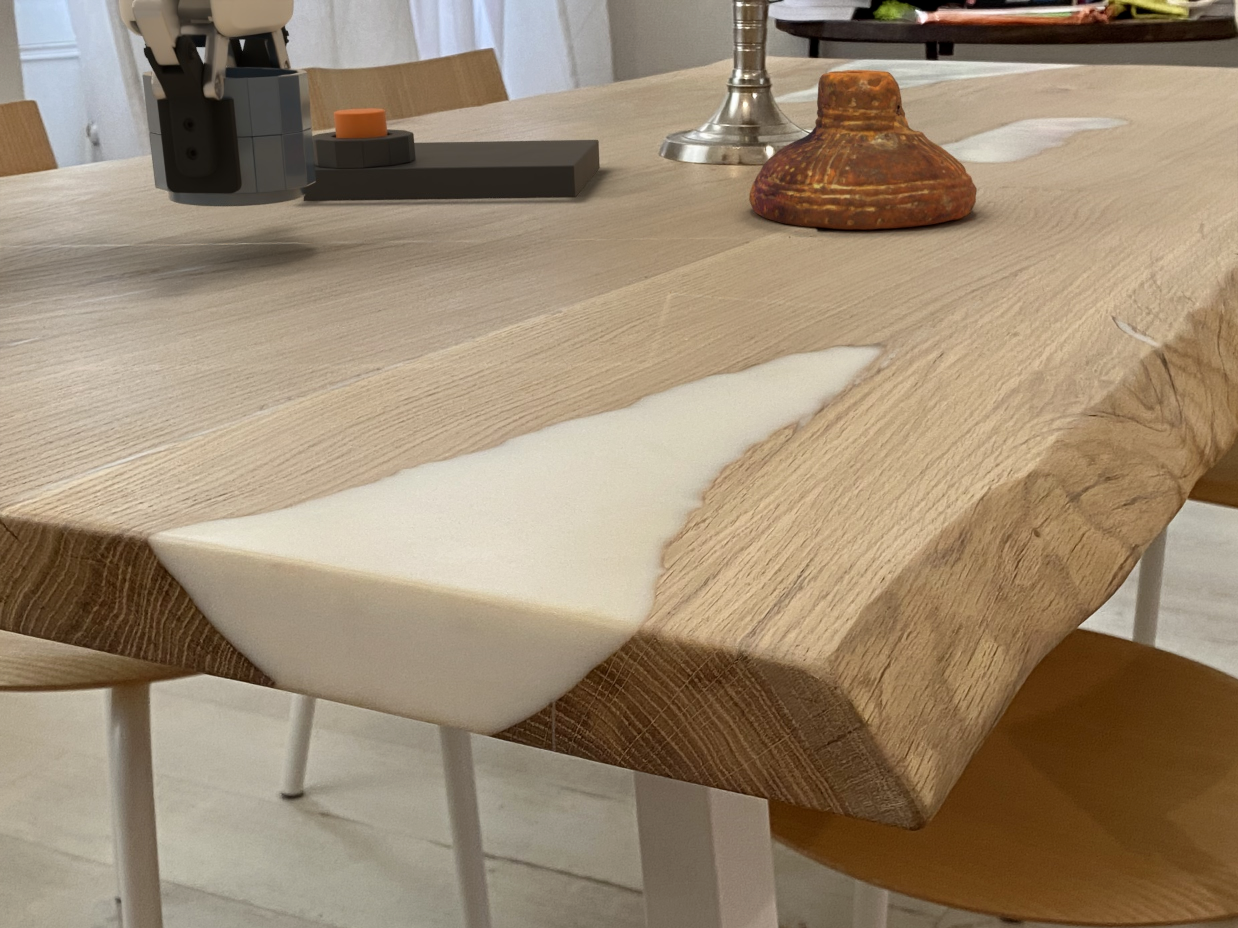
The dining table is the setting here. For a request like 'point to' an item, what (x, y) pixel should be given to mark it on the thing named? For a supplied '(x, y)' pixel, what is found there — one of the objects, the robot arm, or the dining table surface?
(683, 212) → the dining table surface
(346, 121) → the button
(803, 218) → the bell
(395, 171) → the scale
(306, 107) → the blue-grey cup
